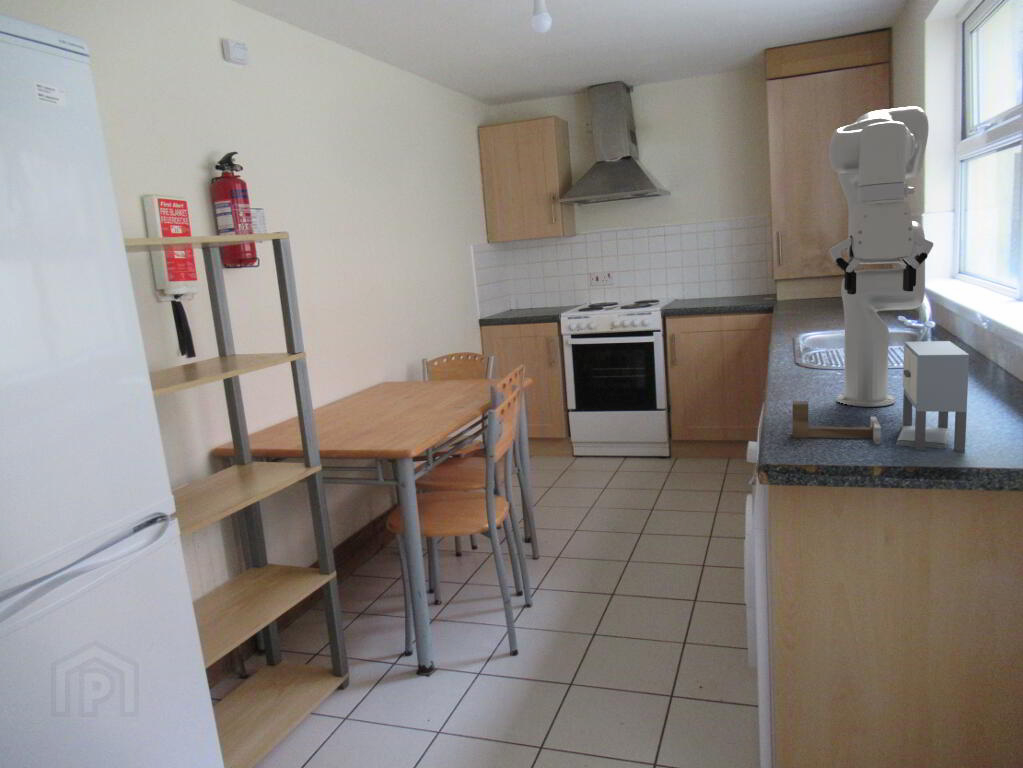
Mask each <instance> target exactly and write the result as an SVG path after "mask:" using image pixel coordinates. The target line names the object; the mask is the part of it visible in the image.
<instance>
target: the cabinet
mask: <svg viewBox="0 0 1023 768" xmlns="http://www.w3.org/2000/svg"><path fill="white" fill-rule="evenodd" d="M969 364H970V354H969V353H967V352H966V351H965V350H963V349H961V348H960V347H959V346H958V345H956V344H954V343H953V342H952V341H950V340H945V341H944V340H938V341H937V340H932V341H929V340H926V341H904V345H903V364H902V365H903V368H902V370H903V371H902V388H903V398H902V401H903V402H902V403H903V405H902V406H903V407H902V427H903V426H913V408H914V409H915V419H914V421H915V425H914V426H915V446H914V450H915V451H916V450H925V451H926V447H925V429H926V427H927V424H926V423H927V421H926V420H927V412H932V413H933V412H935V413H936V412H937V413H938V414H937V415H938V418H937V419H938V420H937V428H947V429H948V430H949V412H950V413H951V412H952V413H953V412H954V413H955V416H954V437H953V440H954V441H953V444H954V445H953V450H954V452H955V451H960V453H964V452H965V453H966V440H967V439H966V435H967V433H966V432H967V415H968V414H967V413H968V391H969V390H968V388H969V387H968V384H969V367H970V365H969Z"/></svg>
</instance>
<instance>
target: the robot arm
mask: <svg viewBox="0 0 1023 768" xmlns="http://www.w3.org/2000/svg"><path fill="white" fill-rule="evenodd" d="M929 127H930V126H929V120H928V115H927V114H926V112H925V111H924V110H923V109H922V108H921V107H918V106H906V107H897V108H890V109H889V108H888V109H879V110H874V111H869V112H867V113H865V114H862V115H861V116H859V118H857V119H856V120H855V122H854V123H851V124H848V125H845V126H841V127H840V128H837V129H835V130H834V132H833V133H832V135H831V139H830V141H829V149H828V150H829V152H828V154H829V155H828V156H829V157H828V158H829V164H830V167H831V168H832V170H833V172H836V173H837V176H838V181H839V184H840V187H841V189H842V192H843V194H844V197H845V200H846V203H847V207H848V223H847V224H848V227H847V229H848V231H847V239H845V240H843V241H841V242H840V243H837V244H836V245H834V246H832V247H831V248H829V250H828V253H829V254H830V256H831V258H832V259H833V261H834V264H835V265H837V267H839V268H840V269H841V270H842V272H844V278H843V279H842V280H841V281H842V282H841V284H840V285H841V286H840V287H841V288H840V291H841V298H842V307H843V316H844V360H843V361H844V371H843V372H844V373H843V377H844V379H843V382H844V384H843V393H840V394H838V395H837V397H836V402H838V403H839V402H840V403H839V404H841V403H843V404H842V405H845V404H847V406H851V405H852V406H853V407H866V408H867V407H869V408H870V407H871V408H872V407H873V408H875V407H885V406H891V405H893V404H894V403H895V401H896V398H895V396H893V395H891V394H888V385H889V384H888V383H889V381H888V380H889V345H890V343H889V341H890V340H889V339H890V331H889V326H888V325H887V323H886V322H885V321H884V320H883V318H881V316H879V314H878V312H879V311H881V312H882V311H896V310H897V311H903V310H914V309H917V308H919V307H921V305H922V304H923V302H924V300H925V299H924V298H925V295H926V294H925V293H926V260H927V258H928V255H929V254H930V253H931V251H932V249H933V247H934V242H933V241H930V240H927V239H926V236H925V231H924V228H923V226H922V225H921V223H919V222H917V221H914V220H913V216H912V210H911V204H910V201H906V199H907V198H908V196H913V195H914V194H915V187H913V186H908V184H907V181H906V180H908V179H913V178H914V177H916V176H918V175H919V174H920V172H922V169H923V166H924V165H923V164H924V161H925V160H924V159H925V154H926V150H927V149H926V148H927V143H928V139H929ZM845 249H847V258H848V260H847V261H846V260H845V259H844V258H843V257H842V254H841V253H842V251H844V250H845ZM859 264H860V265H876V264H879V265H880V264H899V265H901V266H902V267H903V268H885V269H884V268H880V269H878V268H877V269H862V270H855V269H856V267H858V265H859Z"/></svg>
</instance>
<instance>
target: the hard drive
mask: <svg viewBox="0 0 1023 768" xmlns="http://www.w3.org/2000/svg"><path fill="white" fill-rule="evenodd" d="M948 436H949V428H948V429H947V428H938V427H934V426H926V429H925V448H930V447H933V449H935V448H936V449H944V448H947V443H948ZM903 445H908V446H907V447H915V425H912V426H903V425H902V428H901V430H900V432H899V435H898V438H897V439H896V446H903Z"/></svg>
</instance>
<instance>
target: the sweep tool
mask: <svg viewBox="0 0 1023 768" xmlns="http://www.w3.org/2000/svg"><path fill="white" fill-rule="evenodd" d="M869 420H870V421H869V427H861V426H860V427H856V426H855V427H850V426H847V427H846V426H809V401H808V400H807V401H806V400H805V401H804V400H803V401H802V400H800V401H799V400H797V401H795V400H793V401H792V439H793V438H795V439H796V438H798V439H799V438H801V439H805V438H806V439H808V438H824V439H825V438H827V437H828V439H829V438H831V439H833V438H834V439H835V438H836V439H866V438H872V440H873V442H875V443H874V444H875V445H881V444H882V443H881V441H882V427H881V425H880V423H879V421H878V418H877V416H874V415H873V416H872V415H871V416H870V419H869Z"/></svg>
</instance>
